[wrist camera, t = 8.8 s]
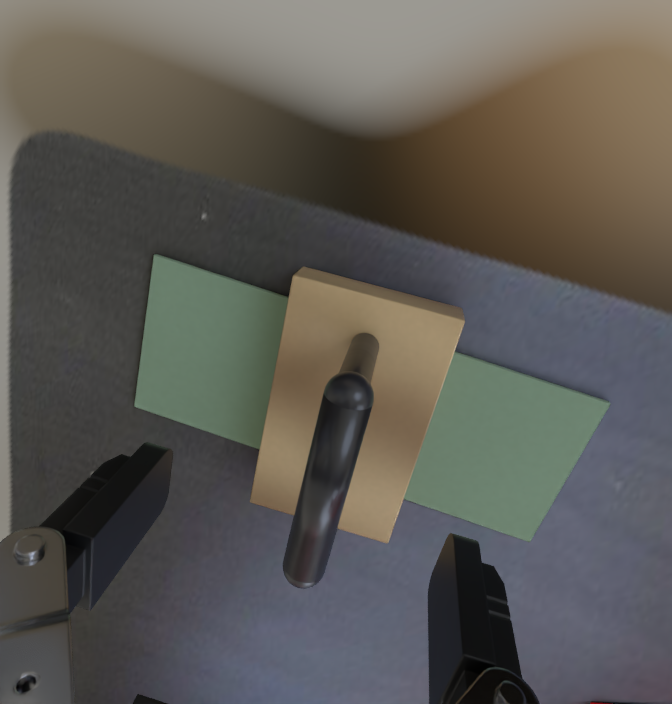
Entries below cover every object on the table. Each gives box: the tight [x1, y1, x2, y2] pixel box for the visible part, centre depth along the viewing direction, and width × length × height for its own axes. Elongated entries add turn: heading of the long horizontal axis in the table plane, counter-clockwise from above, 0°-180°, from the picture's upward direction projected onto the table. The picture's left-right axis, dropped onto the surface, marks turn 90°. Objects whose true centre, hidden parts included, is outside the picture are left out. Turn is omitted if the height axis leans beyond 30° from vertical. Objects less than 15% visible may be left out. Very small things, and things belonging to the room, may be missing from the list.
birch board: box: [250, 267, 465, 589], centre depth 17 cm, size 10×6×6 cm, turn 167°
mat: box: [134, 254, 610, 542], centre depth 20 cm, size 18×7×1 cm, turn 74°
